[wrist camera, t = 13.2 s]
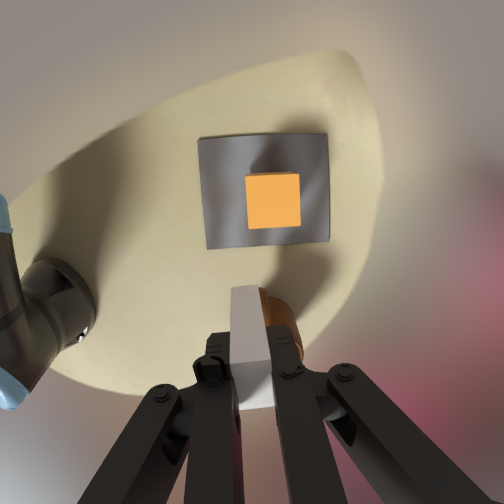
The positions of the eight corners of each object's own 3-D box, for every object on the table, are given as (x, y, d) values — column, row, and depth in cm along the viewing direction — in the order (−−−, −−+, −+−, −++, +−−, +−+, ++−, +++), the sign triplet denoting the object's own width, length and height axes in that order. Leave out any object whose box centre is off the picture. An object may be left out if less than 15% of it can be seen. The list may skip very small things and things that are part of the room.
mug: (227, 273, 38) (223, 307, 29) (283, 261, 38) (295, 292, 29) (247, 343, 42) (248, 386, 33) (296, 333, 41) (308, 374, 33)
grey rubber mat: (207, 248, 37) (199, 269, 30) (198, 140, 33) (186, 134, 25) (328, 240, 37) (346, 259, 30) (325, 134, 33) (346, 128, 26)
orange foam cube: (244, 173, 33) (245, 176, 26) (288, 171, 33) (299, 173, 26) (247, 216, 34) (248, 229, 28) (290, 214, 34) (300, 225, 28)
